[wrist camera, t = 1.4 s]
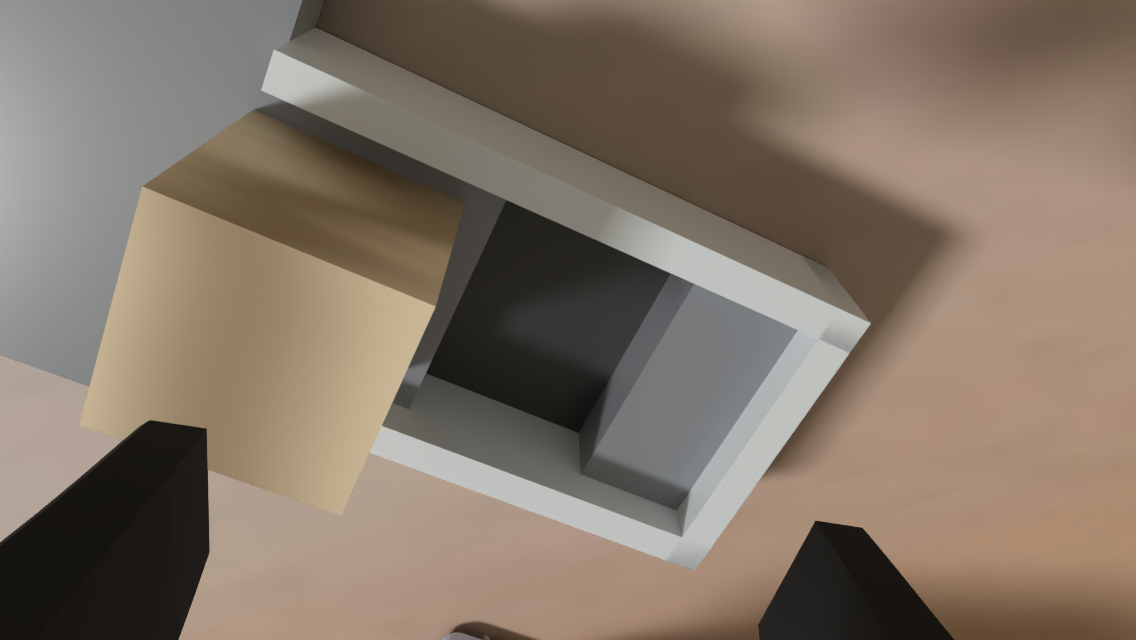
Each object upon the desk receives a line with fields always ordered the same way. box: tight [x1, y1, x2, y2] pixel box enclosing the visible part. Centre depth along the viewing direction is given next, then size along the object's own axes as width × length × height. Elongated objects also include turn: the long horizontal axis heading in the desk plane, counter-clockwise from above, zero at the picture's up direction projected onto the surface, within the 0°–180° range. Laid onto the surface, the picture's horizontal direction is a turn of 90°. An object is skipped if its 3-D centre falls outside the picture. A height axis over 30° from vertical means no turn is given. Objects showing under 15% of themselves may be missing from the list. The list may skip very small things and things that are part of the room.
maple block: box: [79, 110, 465, 515], centre depth 16 cm, size 4×4×5 cm
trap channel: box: [0, 0, 871, 571], centre depth 18 cm, size 23×11×3 cm, turn 64°
